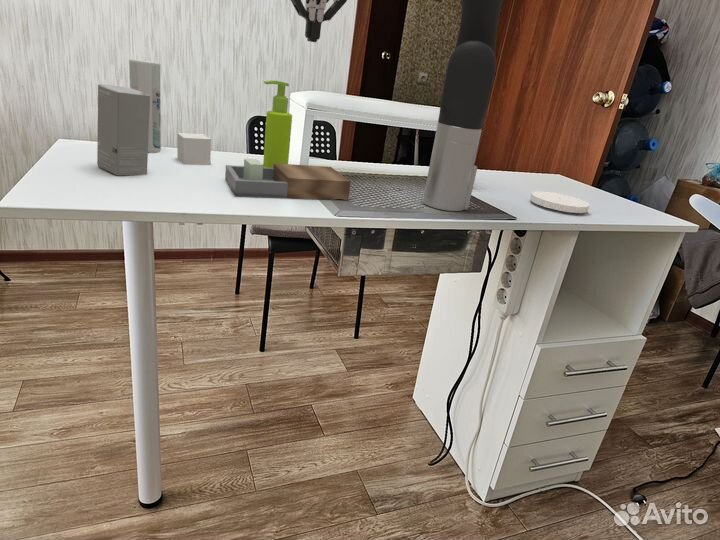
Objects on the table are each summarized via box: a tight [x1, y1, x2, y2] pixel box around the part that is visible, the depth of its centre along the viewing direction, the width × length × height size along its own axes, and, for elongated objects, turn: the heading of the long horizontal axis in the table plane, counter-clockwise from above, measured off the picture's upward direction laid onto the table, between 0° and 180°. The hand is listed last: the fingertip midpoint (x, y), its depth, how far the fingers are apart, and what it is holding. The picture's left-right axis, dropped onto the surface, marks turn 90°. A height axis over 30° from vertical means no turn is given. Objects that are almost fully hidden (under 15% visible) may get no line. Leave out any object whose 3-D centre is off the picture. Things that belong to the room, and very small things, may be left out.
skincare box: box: [96, 83, 150, 177], centre depth 97 cm, size 8×7×16 cm
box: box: [224, 164, 288, 199], centre depth 101 cm, size 10×13×3 cm
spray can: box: [128, 58, 162, 154], centre depth 117 cm, size 6×6×20 cm
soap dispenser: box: [262, 80, 293, 168], centre depth 117 cm, size 6×7×20 cm
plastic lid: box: [529, 190, 591, 214], centre depth 126 cm, size 14×14×2 cm
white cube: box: [176, 132, 212, 166], centre depth 115 cm, size 6×6×6 cm
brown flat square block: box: [273, 163, 352, 201], centre depth 105 cm, size 13×13×4 cm
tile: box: [243, 158, 263, 181], centre depth 100 cm, size 5×5×2 cm
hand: (312, 41), depth 104 cm, fingers closed
